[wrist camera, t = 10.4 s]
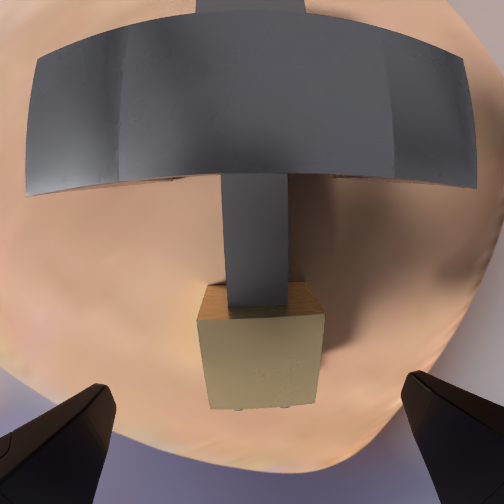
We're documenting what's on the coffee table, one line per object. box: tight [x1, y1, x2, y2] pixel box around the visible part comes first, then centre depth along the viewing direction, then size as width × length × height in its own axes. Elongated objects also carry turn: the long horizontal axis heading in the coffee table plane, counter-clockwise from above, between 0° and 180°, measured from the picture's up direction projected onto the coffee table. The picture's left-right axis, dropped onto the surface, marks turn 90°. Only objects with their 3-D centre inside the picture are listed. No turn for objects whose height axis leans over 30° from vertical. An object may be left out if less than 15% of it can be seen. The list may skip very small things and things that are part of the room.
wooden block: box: [197, 282, 325, 411], centre depth 10 cm, size 5×4×3 cm
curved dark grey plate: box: [25, 10, 477, 197], centre depth 7 cm, size 4×12×5 cm, turn 91°
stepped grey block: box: [195, 0, 306, 307], centre depth 8 cm, size 11×3×4 cm, turn 2°
